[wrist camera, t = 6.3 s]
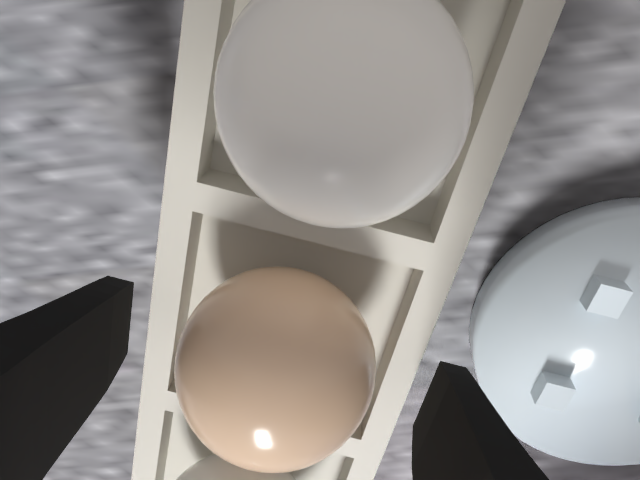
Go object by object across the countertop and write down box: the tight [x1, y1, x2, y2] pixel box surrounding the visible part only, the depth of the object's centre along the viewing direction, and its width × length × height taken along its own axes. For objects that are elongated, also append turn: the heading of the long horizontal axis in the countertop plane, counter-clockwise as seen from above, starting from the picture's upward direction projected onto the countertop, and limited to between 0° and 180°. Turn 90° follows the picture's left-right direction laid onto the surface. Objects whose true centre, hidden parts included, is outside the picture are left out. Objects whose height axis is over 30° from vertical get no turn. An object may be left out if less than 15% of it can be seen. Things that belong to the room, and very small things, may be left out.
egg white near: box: [213, 0, 474, 228], centre depth 9 cm, size 4×4×4 cm
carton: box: [131, 0, 566, 480], centre depth 14 cm, size 7×19×3 cm, turn 167°
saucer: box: [469, 197, 640, 466], centre depth 14 cm, size 8×8×2 cm
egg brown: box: [174, 266, 376, 473], centre depth 12 cm, size 4×4×4 cm
